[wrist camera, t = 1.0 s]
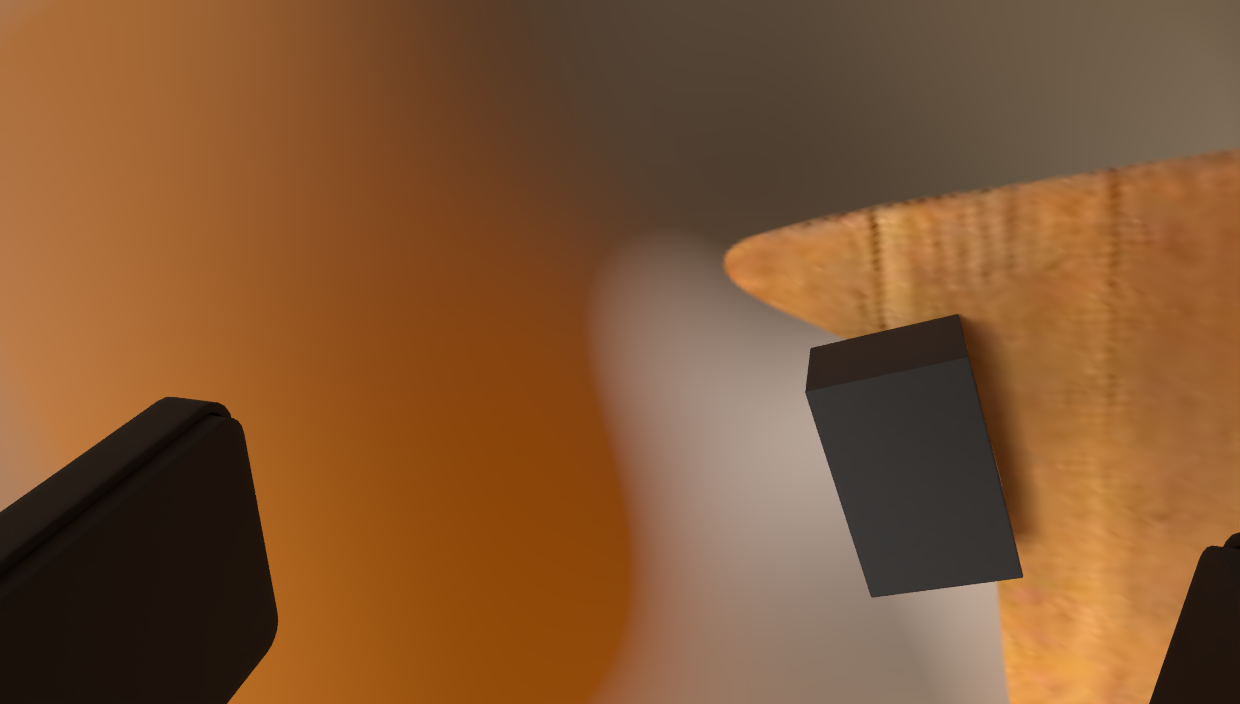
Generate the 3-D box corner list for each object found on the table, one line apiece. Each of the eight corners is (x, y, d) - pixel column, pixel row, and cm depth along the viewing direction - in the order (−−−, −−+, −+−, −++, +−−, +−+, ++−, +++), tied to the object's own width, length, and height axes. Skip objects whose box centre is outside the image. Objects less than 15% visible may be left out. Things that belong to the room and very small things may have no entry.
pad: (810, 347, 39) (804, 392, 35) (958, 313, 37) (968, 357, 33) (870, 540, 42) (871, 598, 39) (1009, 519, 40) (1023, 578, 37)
